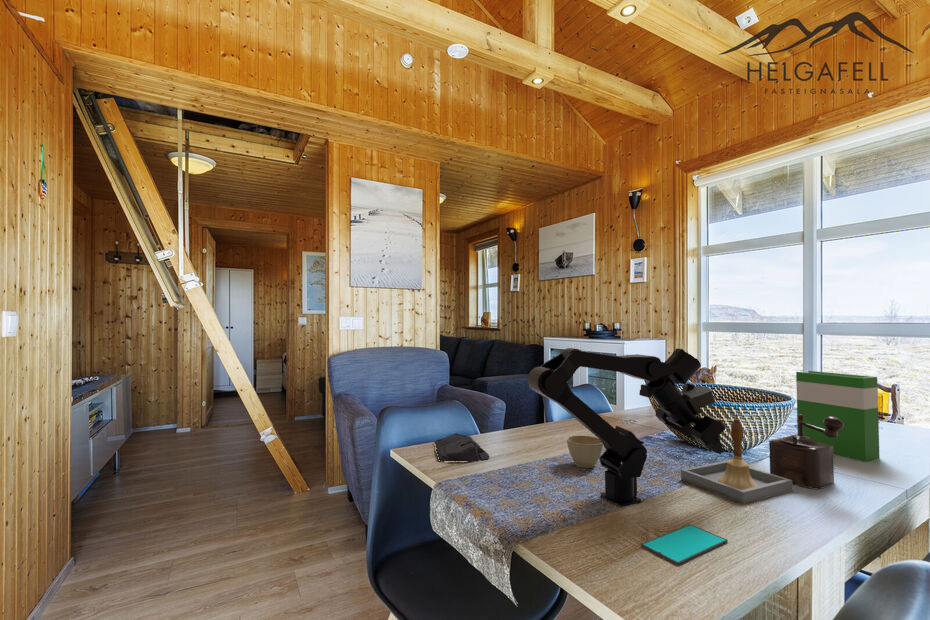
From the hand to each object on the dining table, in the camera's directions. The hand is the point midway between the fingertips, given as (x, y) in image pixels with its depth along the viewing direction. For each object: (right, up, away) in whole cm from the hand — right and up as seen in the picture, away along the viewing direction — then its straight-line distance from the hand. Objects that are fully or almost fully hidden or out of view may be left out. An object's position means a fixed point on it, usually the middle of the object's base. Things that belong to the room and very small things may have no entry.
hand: (707, 445), depth 104 cm
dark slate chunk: (-60, -12, +31) cm, 69 cm away
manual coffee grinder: (+29, -11, +4) cm, 31 cm away
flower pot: (-24, -11, +18) cm, 32 cm away
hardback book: (+57, -12, +30) cm, 65 cm away
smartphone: (-18, -11, -25) cm, 33 cm away
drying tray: (+8, -11, +3) cm, 14 cm away
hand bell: (+8, -10, +1) cm, 13 cm away
